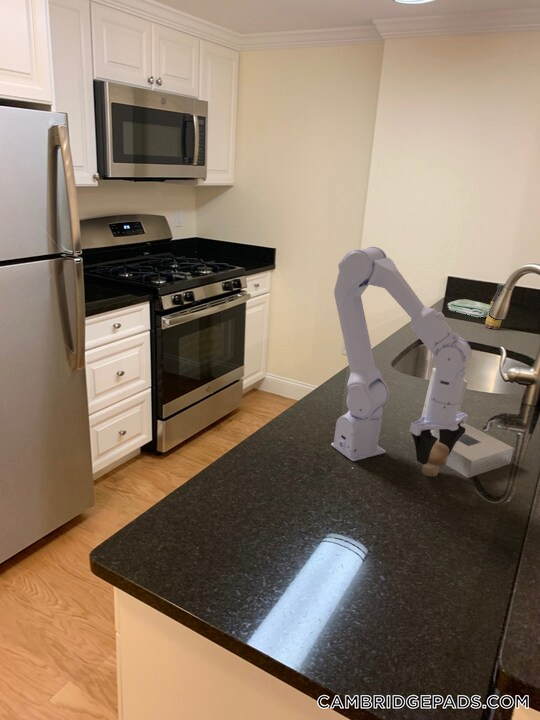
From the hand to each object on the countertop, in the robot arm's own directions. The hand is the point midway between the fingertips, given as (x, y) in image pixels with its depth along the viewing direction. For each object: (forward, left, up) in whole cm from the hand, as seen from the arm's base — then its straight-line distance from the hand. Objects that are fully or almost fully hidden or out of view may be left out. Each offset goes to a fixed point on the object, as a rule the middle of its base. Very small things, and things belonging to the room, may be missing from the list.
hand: (432, 459), depth 110 cm
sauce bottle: (+123, +77, -3) cm, 145 cm away
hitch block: (+13, +2, -3) cm, 14 cm away
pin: (0, 0, -3) cm, 3 cm away
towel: (+141, +101, -4) cm, 174 cm away
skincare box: (+18, +14, -3) cm, 23 cm away
